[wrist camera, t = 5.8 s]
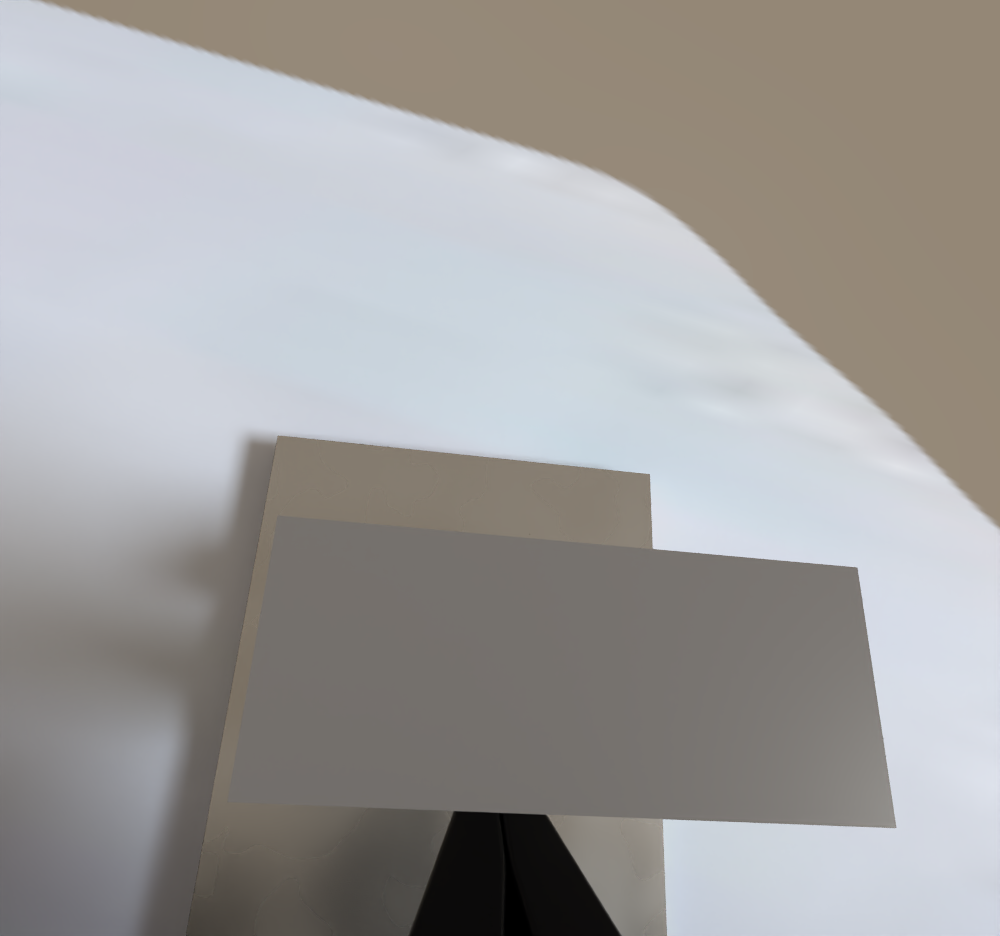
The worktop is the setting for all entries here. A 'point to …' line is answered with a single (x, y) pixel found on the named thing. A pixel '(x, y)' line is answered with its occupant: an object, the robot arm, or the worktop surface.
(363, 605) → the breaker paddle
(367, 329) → the worktop surface
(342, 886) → the base
